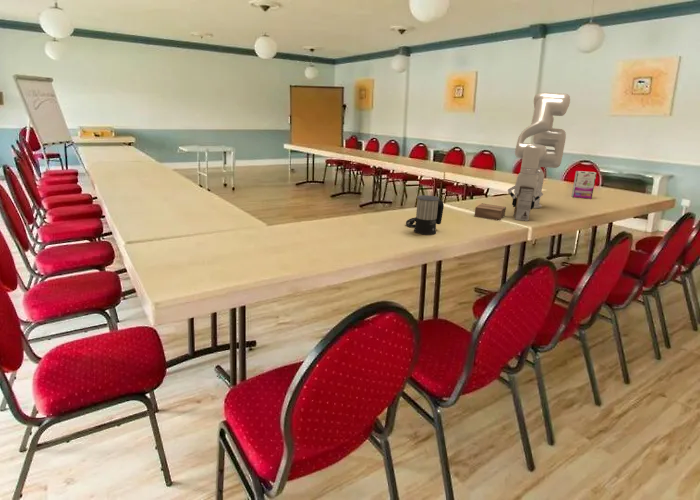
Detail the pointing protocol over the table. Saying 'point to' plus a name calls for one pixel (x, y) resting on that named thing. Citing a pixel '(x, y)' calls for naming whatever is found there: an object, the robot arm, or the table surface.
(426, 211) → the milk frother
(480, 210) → the walnut block
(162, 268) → the table surface
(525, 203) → the coffee box
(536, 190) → the robot arm
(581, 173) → the candy bar box
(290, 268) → the table surface
